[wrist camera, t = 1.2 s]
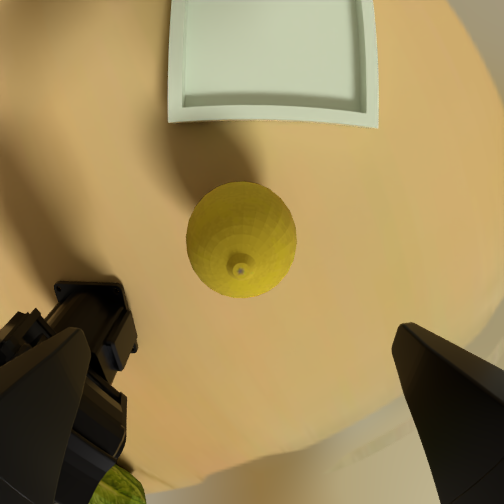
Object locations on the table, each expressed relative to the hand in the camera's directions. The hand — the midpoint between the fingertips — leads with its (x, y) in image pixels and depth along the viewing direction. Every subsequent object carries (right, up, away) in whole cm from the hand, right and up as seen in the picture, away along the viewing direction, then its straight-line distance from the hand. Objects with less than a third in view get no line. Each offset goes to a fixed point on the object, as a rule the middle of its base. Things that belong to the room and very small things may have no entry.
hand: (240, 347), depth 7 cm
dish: (+2, +16, +7) cm, 17 cm away
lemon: (0, +5, +12) cm, 13 cm away
